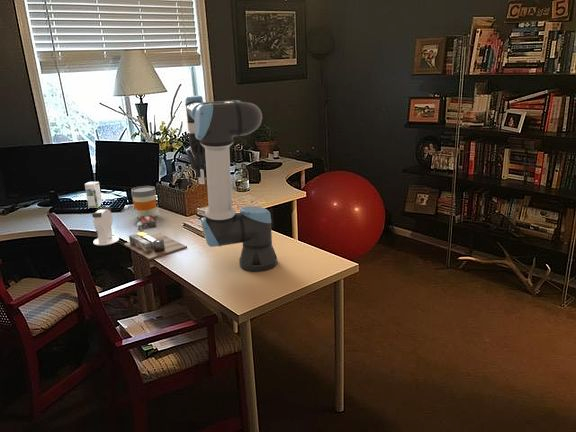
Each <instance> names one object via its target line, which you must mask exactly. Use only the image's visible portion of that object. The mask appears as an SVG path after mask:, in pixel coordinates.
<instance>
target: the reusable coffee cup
mask: <svg viewBox="0 0 576 432" xmlns="http://www.w3.org/2000/svg"><path fill="white" fill-rule="evenodd" d="M130 190H131V191H130V192H131V193H130V194H131V197H132V204H133V206H134V210H135V211H136V215H137V218H138V219H140V217H142V216H148V215H151V216H153V218H154V217H156V207H157V197H156V194H157V191H156V187H155V186H151V185H143V186H142V185H141V186H136V187H133V188H131V189H130Z"/></svg>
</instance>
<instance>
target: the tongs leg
mask: <svg viewBox="0 0 576 432" xmlns="http://www.w3.org/2000/svg"><path fill="white" fill-rule="evenodd" d="M135 234H136V235H138V236H140V237H141V238H143V239H145V240H146V241H148V242H150V243H151V247H152V248H154V251H156V252H160V251H164V250H165V246H164V240H163V239H157V240H156V239H154V238H152V237H150V236H151V235H149V234H148V233H146V232H144V231H143V232H141V231H139V232H137V233H135Z"/></svg>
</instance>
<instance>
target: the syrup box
mask: <svg viewBox="0 0 576 432" xmlns="http://www.w3.org/2000/svg"><path fill="white" fill-rule="evenodd" d="M84 189H85V194H86V199H87V204H88V205H87V207H88V209H89V208H98V207H99V206H100V205H101V204H102V205H103V199H102V194H101V187H100V182H99V181H88V182H86V183H84ZM98 209H99V208H98Z"/></svg>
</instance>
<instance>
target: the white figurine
mask: <svg viewBox="0 0 576 432" xmlns="http://www.w3.org/2000/svg"><path fill="white" fill-rule="evenodd" d="M91 215H92V218H93V226H94V229H95V234H96V235H97V238H95V239H94V240H93V245H95V246H108V245H112V244H115V243H118V241H120V237H119V236H117V235H113V229H112V225H113V219H114V218H113V215H112V207H111V206H102V207H101V209H97V211H95V212H92V214H91Z"/></svg>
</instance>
